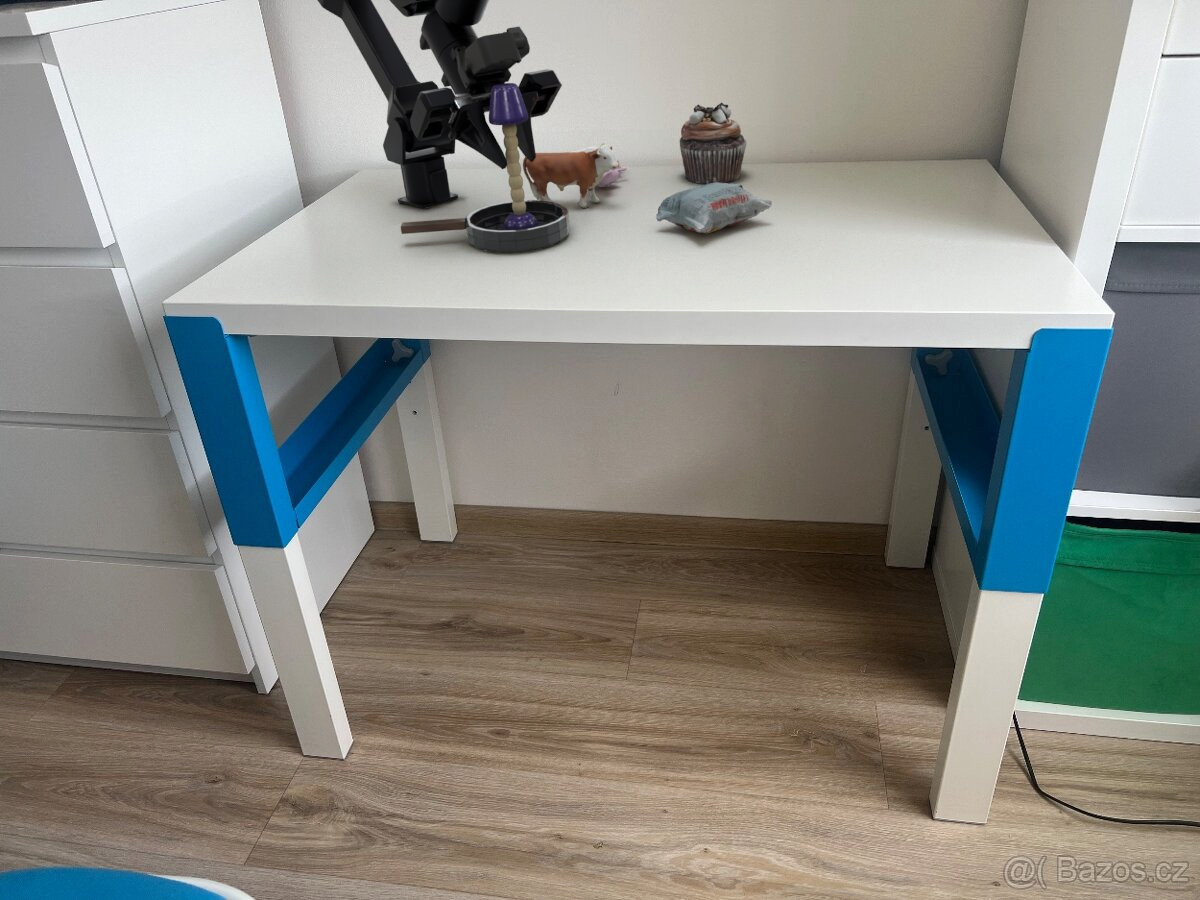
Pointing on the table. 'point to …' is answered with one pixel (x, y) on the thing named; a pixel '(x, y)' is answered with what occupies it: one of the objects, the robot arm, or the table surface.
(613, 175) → the rabbit figure
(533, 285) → the table surface
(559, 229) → the pan
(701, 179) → the cupcake
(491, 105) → the toy lamp
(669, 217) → the packaged food
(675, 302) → the table surface
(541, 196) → the bull figurine
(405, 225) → the pan handle
